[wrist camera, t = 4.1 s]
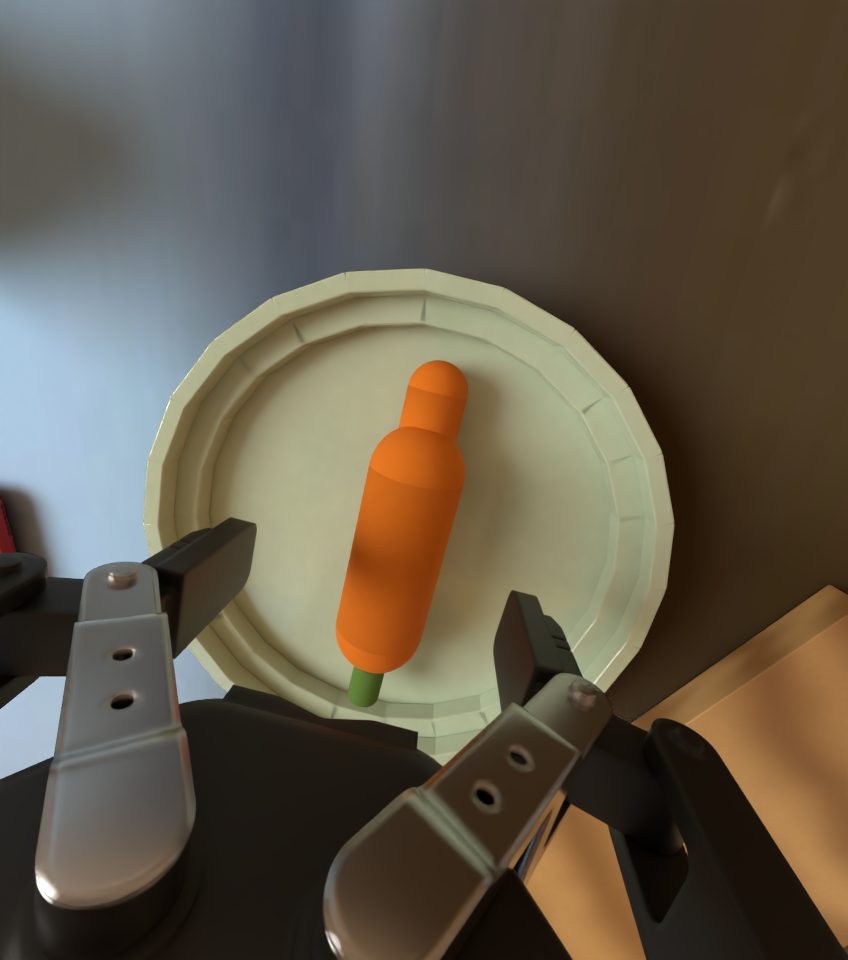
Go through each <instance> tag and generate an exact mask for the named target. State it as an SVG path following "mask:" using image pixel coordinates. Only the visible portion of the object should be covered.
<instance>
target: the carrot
mask: <svg viewBox="0 0 848 960" xmlns="http://www.w3.org/2000/svg"><path fill="white" fill-rule="evenodd" d="M467 397H468V385H467V381H466V379H465V376H464V375H463V373H462V372H461V370H460V369H458V368H457V367H456V366H455V365H453V364H452V363H449V362H446V361H442V360H434V361H430V362H427V363H425V364H423V365H421V366H420V367H419V368H417V369H416V371H415V372H414V373H413V374H412V376H411V378H410V380H409V383H408V387H407V391H406V396H405V400H404V405H403V409H402V414H401V418H400V423H399V427H398V429H396V430H394V431H392V432H390V433H389V434H388V435H386V436H385V437H384V438H383V439H382V440H381V441H380V442H379V443H378V445H377V447H376V448H375V450H374V452H373V454H372V456H371V460H370V463H369V467H368V472H367V477H366V482H365V486H364V491H363V496H362V501H361V505H360V510H359V515H358V520H357V524H356V529H355V534H354V539H353V543H352V548H351V553H350V558H349V562H348V567H347V572H346V577H345V581H344V586H343V591H342V596H341V600H340V605H339V610H338V615H337V619H336V638H337V642H338V645H339V648H340V650H341V652H342V654H343V655H344V657H345V658H346V659H347V660H348V661H349V662H350V663H351V664H352V665H353V666H354V667H353V672H352V676H351V680H350V685H349V689H348V697H349V699H350V701H351V702H352V703H353V704H355V705H356V706H359V707H370V706H372V705H374V704H375V703H376V702H377V700H378V697H379V693H380V689H381V685H382V681H383V677H384V673H387V672H391V671H393V670H395V669H398V668H400V667H401V666H403V665H404V664H405V663H406V662H407V661H409V660H410V659H411V657H412V656H413V655H414V653H415V652H416V650H417V649H418V646H419V644H420V641H421V638H422V635H423V631H424V627H425V624H426V620H427V616H428V613H429V609H430V605H431V602H432V598H433V595H434V591H435V587H436V584H437V580H438V576H439V573H440V569H441V565H442V562H443V558H444V555H445V551H446V547H447V544H448V540H449V536H450V533H451V529H452V525H453V522H454V518H455V515H456V511H457V507H458V504H459V500H460V496H461V493H462V489H463V485H464V480H465V465H464V461H463V457H462V455H461V453H460V451H459V448H458V447H457V445H456V444H455V443H456V440H457V436H458V432H459V428H460V424H461V421H462V417H463V413H464V409H465V405H466V401H467Z"/></svg>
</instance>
